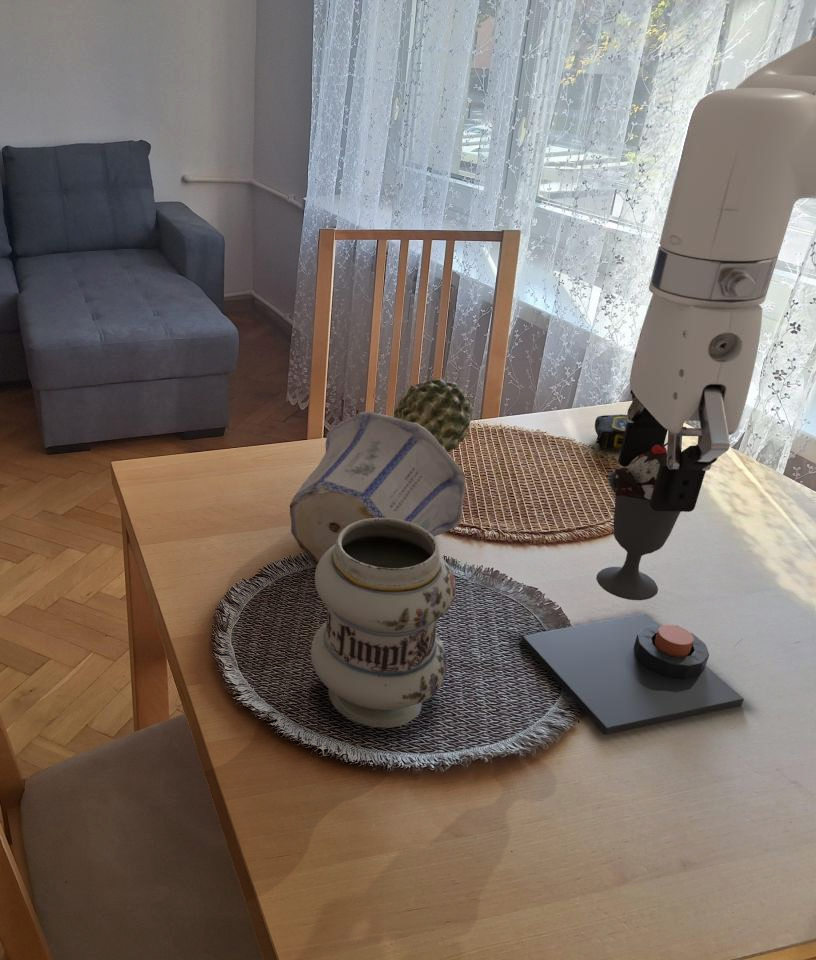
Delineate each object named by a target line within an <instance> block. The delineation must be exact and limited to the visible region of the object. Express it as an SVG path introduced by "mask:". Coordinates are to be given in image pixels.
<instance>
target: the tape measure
mask: <svg viewBox="0 0 816 960" xmlns="http://www.w3.org/2000/svg"><path fill="white" fill-rule="evenodd" d="M627 422H630V423H633V421H629V420H628V418H627V414H607V415H606V414H605V415H598V416H597V417H596V418H595V420H594V431H595V434H596V435H597V436H596V442H595V443H596V444H597V445H598V447H599V448H600V449H602V450H610V449H612V450H616V451H620V450H621V445H622V441H623V437H624V433H625V429H626V425H627Z"/></svg>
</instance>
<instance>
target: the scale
mask: <svg viewBox="0 0 816 960" xmlns="http://www.w3.org/2000/svg"><path fill="white" fill-rule="evenodd" d="M663 625H664V624H658V623H657V621H655V620H654V619H653V618H652V617H650V616H649V615H648V614H647V613H646V612H641V613H636V614H631V615H625V616H619V617H614V618H609V619H605V620H599V621H594V622H593V621H592V622H587V623H583V624H577V625H572V626H566V627H562V628H556V629H550V630H545V631H540V632H534V633H530V634H524V635H522V636H521V639H520V643H521V644H522V645H523V646H524V647H525V648H526V650H527V651H528V652H529V653H530V654H531V655H532V656H533V657H534V658H535V659H536V661H538V662H539V664H540V665H541V666H542V667H543V668H544V669H545V670H546V671H547V673H548V674H549V675H550V676H551V677H552V679H554V681H555V682H556V683H557V684H558V685H559V686H560V687H561V688H562V689H563V690H564V691H565V693H566V694H567V695H568V696H569V697H570V699H572V700H573V702H574V703H575V704H576V705H577V706H578V707H579V708H580V709H581V710H582V711H583V713H585V715H586V716H587V717H588V718H589V719H590V720H591V721H592V723H593V724H594V725H595V726H596V727H597V728H598V729H599V730H600V732H601V733H602V734H604V735H606V736H607V735H611V734H615V733H619V732H620V733H621V732H624V731H625V732H626V731H629V730H634V729H638V728H643V727H648V726H654V725H657V724H661V723H668V722H671V721H676V720H680V719H681V720H682V719H685V718H689V717H695V716H699V715H705V714H709V713H713V712H718V711H723V710H727V709H731V708H732V709H733V708H737V707H741V706H742V705H743V703H744V701H745V699H744V697H743V696H742V695H740V694H739V693H738V692H737V691H736V690H734V689H733V687H731V686H730V685H729V684H728V683H726V682H725V681H724V680H723V679H722V678H721V677H719V676H718V675H717V674H716V673H715V672H714V671H713V670H711V668H709V667H708V666H707V663H708V660H709V657H710V653H709V650H708V647H707V645H706V643H705V642H703V641H702V640H701V639H700V638H699V637H698V636H696V635H695V634H694V633H692V632H690V633H691V634H692V635H693V637H694V641H693V644H692V647H691V650H690V653H689V654H688V655H687V656H685V657H676V656H671V655H668V654H666V653H664V652H662V651H660V650H658V649H657V648H656V646H655V643H654V642H655V638H656V635H657V632H658V629H659V627H661V626H663Z"/></svg>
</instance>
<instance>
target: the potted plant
mask: <svg viewBox="0 0 816 960" xmlns="http://www.w3.org/2000/svg"><path fill="white" fill-rule="evenodd" d="M472 409H473V405H472V402H471V401H470V399H469V398H468V396H467V394H466V392H465V391H464V389H463V388H460V387H458V386H457V383H456V382H455V381H450V380H447V381H445V380H444V379H443V378H436V379H428V380H425V381H422V382H420V383H417V384H415V385H414V384H410V387H409V389H408V390H407V393H406V395H404V396H403V397H401V399H400V401H399V402H398V405H397V407H396V409H395V410H394V411H393V416H390V415H386V414H381V413H377V412H374V411H361V412H359V413H357V414H356V415H353V416H351V417H349V418H347V419H344V420H342V421H341V422H340V423H338V424H335V425H334V426H332V428H330V430H329V431H328V432H327V433H326V439H325V444H324V445H325V453H324V455H323V457H322V459H321V461H320V462H319V463H318V465H317V466H316V467H315V469H314V470H313V471H312V473H311V474H309V476H308V478H307V479H306V480H305V481H304V482H303V484H301V486H300V487H299V489H298V491H297V492H296V493H295V495H294V496H293V497H292V499H291V502H290V504H289V517H290V533H291V535H292V536H293V538H294V540H295V541H296V543H297V544H298V546H299V548H300V549H302V550H303V551H304V552H305V553H306V554H307V555H308V556H309V557H310V558H311V559H312V560H313V561H314V562H315V563H316V564H318V562H319V560H320V559H321V557H322V556H323V555H324V554H325V552H326V551H327V550H329V549H330V548H331V547H332V546H334V545H335V544H336V541H337V538H338V536H339V534H340V533H341V531H342V530H343V529H344V528H346V527H347V526H348V525H350V524H352V523H354V522H357V521H360V520H364V519H370V518H393V519H400V520H404V521H407V522H410V523H413V524H415V525H418V526H420V527H422V528H423V529H425V530H426V531H428V532H429V533H430V534H431V535H432V536H433V537H434V538H436V537H437V536H439V535H442V534H444V533H447V532H448V531H451V530H453V529H455V528H457V527H458V526H459V525H460V524H461V522H462V519H463V506H464V499H465V494H466V493H465V492H466V477H467V476H466V474H465V472H464V470H462V468H461V467H460V465H459V464H458V463H457V462H456V461H455V460H454V458H453V457H452V456H451V455H450V452H451V451H453V450H455V449H458V448H459V446H460V444H461V443H462V442H463V441H464V440H465V438H466V437H467V435H468V429H469V427H470V425H471V422H472V419H471V414H470V413H471V411H472Z"/></svg>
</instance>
